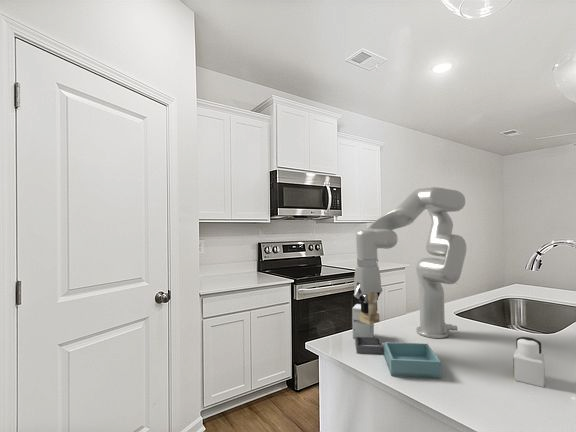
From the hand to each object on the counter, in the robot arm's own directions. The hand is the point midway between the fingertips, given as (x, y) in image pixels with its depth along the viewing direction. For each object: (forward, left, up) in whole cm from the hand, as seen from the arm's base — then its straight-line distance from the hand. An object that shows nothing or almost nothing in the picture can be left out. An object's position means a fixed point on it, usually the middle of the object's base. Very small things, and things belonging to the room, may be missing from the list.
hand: (369, 311), depth 124 cm
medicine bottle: (-45, +19, -14) cm, 51 cm away
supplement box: (+1, -12, -14) cm, 18 cm away
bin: (-12, +14, -14) cm, 23 cm away
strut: (0, 0, -4) cm, 4 cm away
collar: (0, 0, -14) cm, 14 cm away
